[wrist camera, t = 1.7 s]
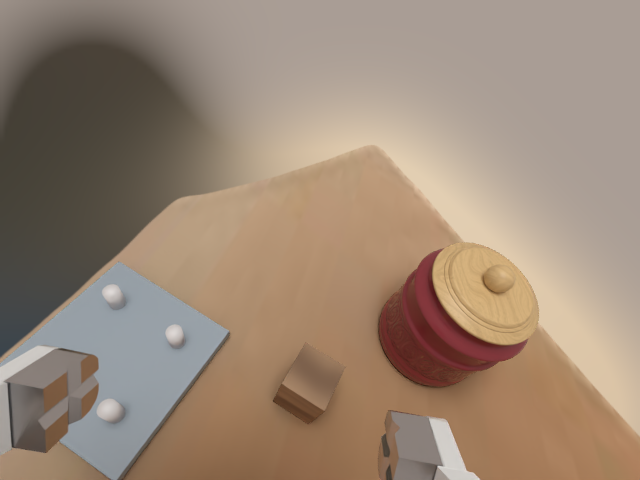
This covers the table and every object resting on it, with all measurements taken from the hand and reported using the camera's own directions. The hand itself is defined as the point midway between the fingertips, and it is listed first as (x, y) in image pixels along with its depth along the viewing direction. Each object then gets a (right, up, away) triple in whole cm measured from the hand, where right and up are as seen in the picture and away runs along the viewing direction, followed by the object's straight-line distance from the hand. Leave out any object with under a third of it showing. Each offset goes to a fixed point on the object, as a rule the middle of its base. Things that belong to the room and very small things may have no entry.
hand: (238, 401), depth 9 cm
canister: (+16, -9, +36) cm, 41 cm away
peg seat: (-19, -8, +27) cm, 34 cm away
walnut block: (0, -13, +29) cm, 32 cm away
